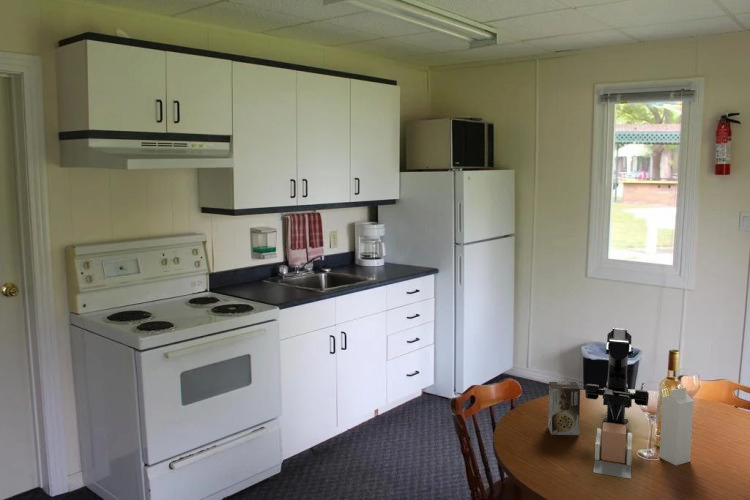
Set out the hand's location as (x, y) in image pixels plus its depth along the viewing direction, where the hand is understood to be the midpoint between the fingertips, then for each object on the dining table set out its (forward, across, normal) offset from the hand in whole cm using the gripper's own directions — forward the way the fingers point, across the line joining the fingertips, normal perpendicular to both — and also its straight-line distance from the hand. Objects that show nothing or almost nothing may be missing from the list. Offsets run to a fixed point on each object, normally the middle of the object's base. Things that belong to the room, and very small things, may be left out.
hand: (615, 419), depth 195 cm
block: (+12, 0, -1) cm, 12 cm away
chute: (+13, 0, +1) cm, 13 cm away
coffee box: (+2, +16, -11) cm, 19 cm away
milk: (+8, -17, -4) cm, 19 cm away
